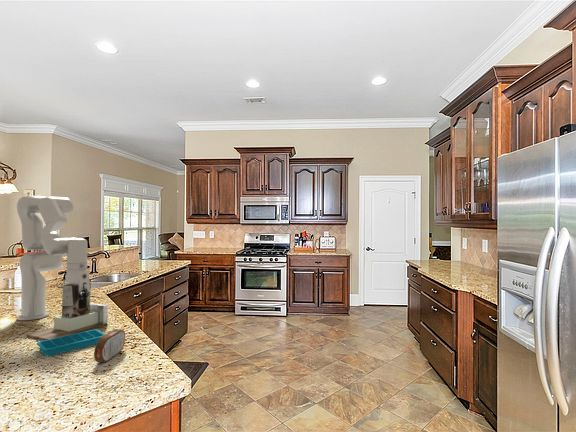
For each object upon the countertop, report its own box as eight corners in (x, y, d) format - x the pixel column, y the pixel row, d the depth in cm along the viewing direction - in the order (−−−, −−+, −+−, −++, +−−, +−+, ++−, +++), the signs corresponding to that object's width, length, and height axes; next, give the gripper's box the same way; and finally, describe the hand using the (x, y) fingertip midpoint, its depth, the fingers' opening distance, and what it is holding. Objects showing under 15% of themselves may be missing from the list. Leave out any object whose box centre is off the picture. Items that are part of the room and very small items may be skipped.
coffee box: (73, 323, 140) (74, 285, 140) (61, 323, 141) (61, 285, 141) (90, 317, 148) (91, 281, 149) (78, 317, 150) (79, 281, 150)
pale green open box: (53, 328, 141) (54, 316, 141) (83, 320, 153) (83, 309, 153) (69, 331, 137) (69, 319, 137) (98, 322, 149) (98, 311, 149)
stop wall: (79, 320, 154) (79, 302, 154) (83, 318, 156) (84, 301, 156) (103, 324, 148) (103, 306, 148) (107, 322, 149) (107, 305, 150)
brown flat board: (26, 337, 134) (26, 334, 134) (83, 321, 156) (83, 318, 156) (51, 342, 127) (51, 339, 127) (107, 324, 149) (107, 322, 149)
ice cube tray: (35, 350, 120) (35, 342, 120) (96, 336, 135) (96, 328, 135) (43, 359, 113) (44, 350, 113) (107, 342, 128) (107, 335, 128)
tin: (118, 349, 120) (118, 325, 121) (126, 349, 120) (127, 325, 121) (92, 366, 105) (93, 340, 106) (102, 366, 105) (102, 340, 106)
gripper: (98, 266, 145) (98, 307, 145) (72, 264, 152) (72, 303, 152) (82, 268, 138) (81, 311, 138) (55, 266, 145) (55, 307, 145)
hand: (76, 306), depth 145 cm, fingers closed on coffee box, 7 cm apart
